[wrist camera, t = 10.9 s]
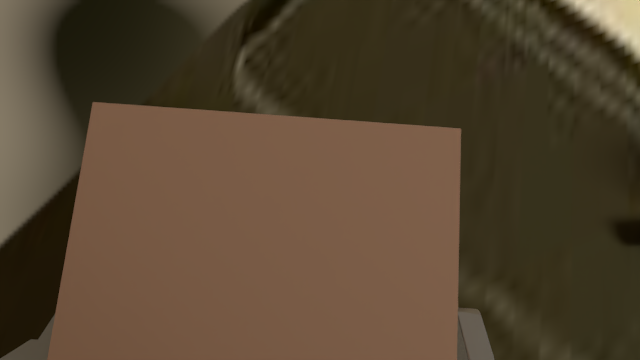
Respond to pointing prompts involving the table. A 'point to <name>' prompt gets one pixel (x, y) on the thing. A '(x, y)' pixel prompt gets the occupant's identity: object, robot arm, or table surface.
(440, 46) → the table surface
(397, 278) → the brown tall block
